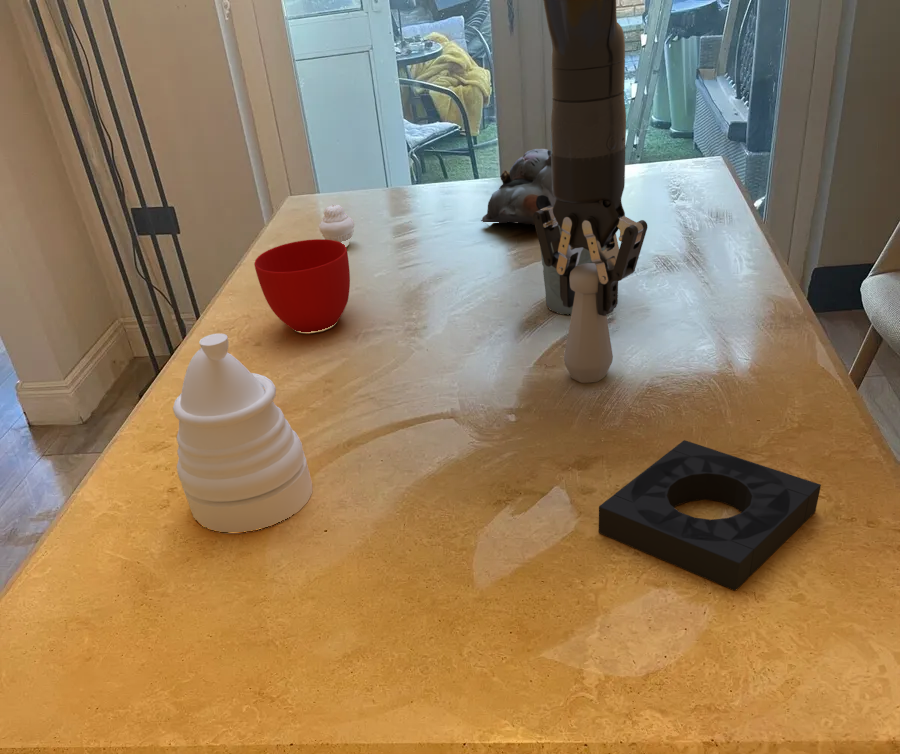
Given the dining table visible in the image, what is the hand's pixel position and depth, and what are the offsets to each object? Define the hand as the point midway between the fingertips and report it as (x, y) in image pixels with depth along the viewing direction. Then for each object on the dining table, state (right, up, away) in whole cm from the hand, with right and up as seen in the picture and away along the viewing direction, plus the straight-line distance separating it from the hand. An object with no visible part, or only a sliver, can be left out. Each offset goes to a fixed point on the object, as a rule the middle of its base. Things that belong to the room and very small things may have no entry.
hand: (588, 308), depth 97 cm
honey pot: (-37, -23, -7) cm, 44 cm away
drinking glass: (+2, +8, +23) cm, 24 cm away
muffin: (-35, +29, +53) cm, 70 cm away
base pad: (+8, -26, -19) cm, 33 cm away
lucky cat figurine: (-3, +32, +51) cm, 60 cm away
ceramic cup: (-35, +8, +28) cm, 45 cm away
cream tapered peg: (+1, -6, +6) cm, 8 cm away
